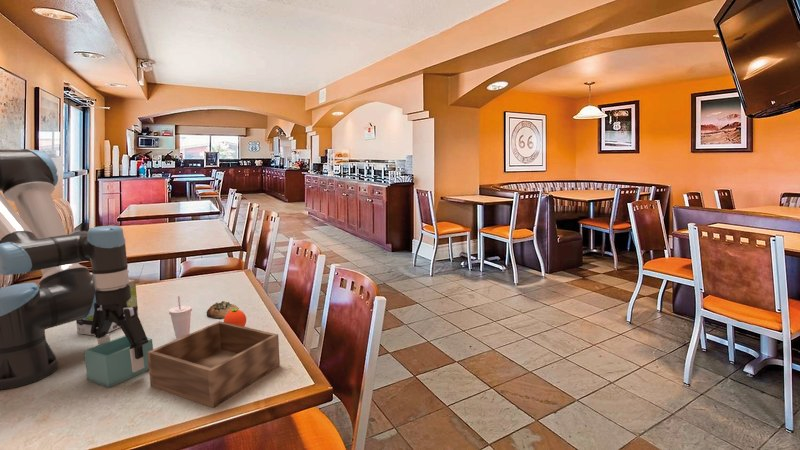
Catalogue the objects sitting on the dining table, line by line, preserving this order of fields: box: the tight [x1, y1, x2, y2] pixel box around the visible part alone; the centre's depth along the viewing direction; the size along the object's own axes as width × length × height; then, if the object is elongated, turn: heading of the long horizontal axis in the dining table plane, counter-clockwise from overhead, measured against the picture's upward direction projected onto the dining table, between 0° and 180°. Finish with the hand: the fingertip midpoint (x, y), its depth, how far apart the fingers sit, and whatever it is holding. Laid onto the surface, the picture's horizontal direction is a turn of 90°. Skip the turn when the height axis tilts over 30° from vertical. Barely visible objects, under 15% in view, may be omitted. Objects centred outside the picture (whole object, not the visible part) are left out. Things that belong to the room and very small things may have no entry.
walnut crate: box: [147, 321, 281, 409], centre depth 111 cm, size 22×22×9 cm
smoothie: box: [168, 295, 193, 340], centre depth 134 cm, size 6×6×14 cm
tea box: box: [75, 279, 139, 336], centre depth 143 cm, size 15×10×15 cm
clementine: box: [223, 309, 247, 327], centre depth 141 cm, size 8×7×7 cm
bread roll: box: [206, 300, 240, 319], centre depth 156 cm, size 11×11×5 cm
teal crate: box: [83, 335, 154, 389], centre depth 112 cm, size 12×9×8 cm
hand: (122, 364), depth 113 cm, fingers open, 13 cm apart
